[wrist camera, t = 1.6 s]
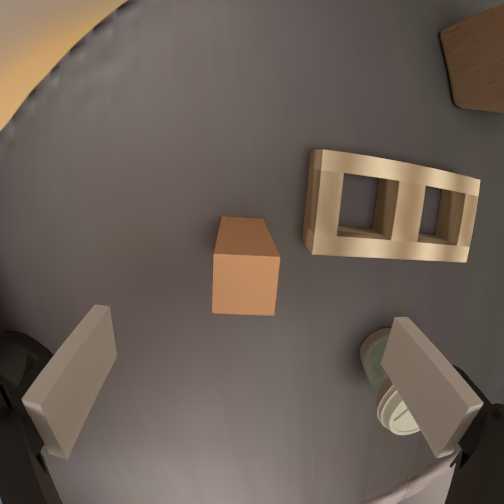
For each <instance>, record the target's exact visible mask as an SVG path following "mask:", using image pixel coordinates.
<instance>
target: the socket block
mask: <svg viewBox="0 0 504 504" xmlns="http://www.w3.org/2000/svg"><path fill="white" fill-rule="evenodd" d="M344 173H349V174H356V175H364V176H371V177H377V178H379V180H378V189H377V197H376V205H375V213H374V220H373V227H372V229H367V228H355V227H342V226H338V221H339V212H340V204H341V195H342V186H343V176H344ZM425 186H431V187H436V188H441V189H442V191H441V199H440V206H439V212H438V219H437V225H436V230H435V235H432V234H422V233H419V228H420V222H421V215H422V209H423V202H424V194H425ZM479 187H480V180H478V179H474V178H471V177H467V176H463V175H459V174H455V173H451V172H447V171H442V170H438V169H434V168H429V167H424V166H420V165H415V164H410V163H405V162H400V161H394V160H389V159H383V158H378V157H372V156H366V155H359V154H353V153H346V152H339V151H331V150H324V149H321V150H310V161H309V172H308V184H307V194H306V205H305V215H304V224H303V233H302V242H303V243H304V245H305V246H306V247H307V249H308V250H309V251H310V252H311V254H312V255H332V256H352V257H371V258H391V259H410V260H430V261H449V262H466V261H467V256H468V252H469V247H470V242H471V237H472V232H473V227H474V221H475V215H476V209H477V202H478V195H479Z"/></svg>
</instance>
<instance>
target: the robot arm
mask: <svg viewBox="0 0 504 504" xmlns="http://www.w3.org/2000/svg"><path fill="white" fill-rule="evenodd" d="M116 358H117V351H116V345H115V339H114V332H113V326H112V319H111V311H110V306H104V305H94V306H93V307H92V309H91V310H90V311H89V312H88V313H87V315H86V316H85V317H84V318H83V319H82V321H81V322H80V323H79V324H78V325H77V327H76V328H75V329H74V330H73V332H72V333H71V334H70V335H69V337H68V338H67V339H66V340H65V342H64V343H63V344H62V345H61V347H60V348H59V349H58V351H57V352H56V353H55V354H54V356H52V355H51V354H50V353H49V352H48V351H47V350H46V349H45V348H44V347H43V346H41V345H40V344H39V343H37V342H36V341H34V340H33V339H31V338H29V337H27V336H25V335H23V334H20V333H16V332H5V333H2V334H1V335H0V504H63V503H62V501H61V499H60V497H59V495H58V492H57V490H56V488H55V486H54V483H53V481H52V478H51V476H50V473H49V471H48V468H47V466H46V463H45V460H44V458H43V456H42V454H41V452H40V451H41V449H42V447H43V445H45V447H46V449H47V450H48V452H49V454H51V455H54V456H57V457H60V458H63V459H66V460H68V458H69V456H70V453H71V451H72V449H73V447H74V444H75V442H76V440H77V438H78V436H79V433H80V431H81V429H82V427H83V425H84V423H85V420H86V418H87V416H88V414H89V412H90V410H91V408H92V406H93V404H94V402H95V400H96V398H97V396H98V394H99V392H100V389H101V387H102V385H103V383H104V381H105V380H106V378H107V376H108V374H109V372H110V370H111V368H112V366H113V364H114V362H115V360H116ZM381 365H382V367H383V369H384V370H385V372H386V373H387V375H388V377H389V378H390V380H391V382H392V383H393V385H394V386H395V388H396V390H397V391H398V393H399V395H400V396H401V398H402V400H403V401H404V403H405V405H406V406H407V408H408V410H409V411H410V413H411V415H412V416H413V418H414V420H415V422H416V423H417V425H418V427H419V428H420V430H421V432H422V434H423V435H424V437H425V439H426V441H427V442H428V444H429V446H430V448H431V449H432V451H433V453H434V455H435V456H436V458H440V457H443V456H446V455H449V454H451V453H452V452H453V451H454V449H455V448H456V446H457V445H458V443H459V445H460V446H461V448H462V449H461V451H460V452H459V453H458V455H457V456H456V458H455V459H454V460H453V462H452V463H451V465H450V467H451V468H452V466H453V465H454V464H455V463H456V466H455V470H454V474H453V477H452V481H451V485H450V488H449V491H448V495H447V498H446V501H445V504H504V405H503V404H498V403H495V404H491V403H490V401H489V400H488V399H487V398H486V397H485V396H484V394H483V393H482V392H481V391H480V390H479V389H478V387H477V386H476V385H474V383H473V382H472V380H469V377H468V376H467V375H466V374H465V372H464V371H462V370H461V369H459V368H458V367H456V366H455V365H451V364H450V363H449V362H448V360H447V359H446V358H445V357H444V356H443V355H442V354H441V353H440V351H439V350H438V349H437V348H436V347H435V346H434V345H433V344H432V343H431V341H430V340H429V339H428V338H427V337H426V336H425V335H424V334H423V333H422V332H421V331H420V330H419V328H418V327H417V326H416V325H415V324H414V323H413V322H412V321H411V320H410V319H409V318H408V317H395V318H394V321H393V325H392V328H391V332H390V335H389V338H388V342H387V345H386V348H385V351H384V355H383V358H382V361H381Z"/></svg>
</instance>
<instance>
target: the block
mask: <svg viewBox="0 0 504 504" xmlns="http://www.w3.org/2000/svg"><path fill="white" fill-rule="evenodd" d="M440 39H441V43H442V46H443V51H444V55H445V59H446V64H447V68H448V73H449V78H450V83H451V89H452V95H453V101H454V103H455V105H456V106H458V107H460V108H462V109H471V110H480V111H488V112H495V113H502V114H504V4H502V5H499V6H496V7H494V8H492V9H489V10H487V11H484V12H482V13H480V14H477V15H475V16H473V17H470V18H468V19H466V20H464V21H461V22H459V23H457V24H455V25H453V26H450V27H448V28H446V29H444V30H442V31H441V33H440Z"/></svg>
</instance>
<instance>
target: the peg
mask: <svg viewBox="0 0 504 504" xmlns="http://www.w3.org/2000/svg"><path fill="white" fill-rule="evenodd" d="M279 265H280V255H279V253H278V251H277V248H276V246H275V244H274V242H273V239H272V237H271V235H270V232H269V230H268V228H267V226H266V223H265V221H264V219H263V218H246V217H227V216H222V217H221V222H220V227H219V231H218V236H217V241H216V246H215V250H214V263H213V300H212V313H221V314H243V315H274V312H275V303H276V294H277V284H278V275H279Z"/></svg>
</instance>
